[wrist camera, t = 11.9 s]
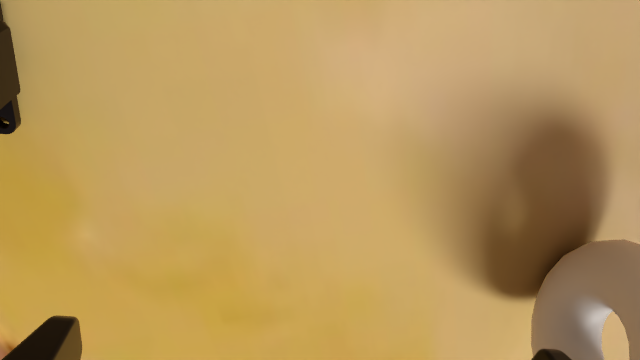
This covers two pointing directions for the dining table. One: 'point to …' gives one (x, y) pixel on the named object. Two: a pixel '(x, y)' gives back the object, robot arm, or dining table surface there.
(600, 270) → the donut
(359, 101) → the dining table surface
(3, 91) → the robot arm
